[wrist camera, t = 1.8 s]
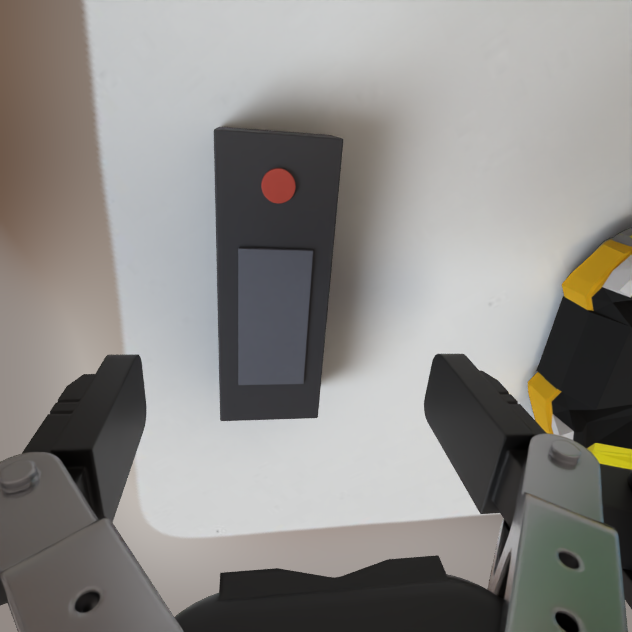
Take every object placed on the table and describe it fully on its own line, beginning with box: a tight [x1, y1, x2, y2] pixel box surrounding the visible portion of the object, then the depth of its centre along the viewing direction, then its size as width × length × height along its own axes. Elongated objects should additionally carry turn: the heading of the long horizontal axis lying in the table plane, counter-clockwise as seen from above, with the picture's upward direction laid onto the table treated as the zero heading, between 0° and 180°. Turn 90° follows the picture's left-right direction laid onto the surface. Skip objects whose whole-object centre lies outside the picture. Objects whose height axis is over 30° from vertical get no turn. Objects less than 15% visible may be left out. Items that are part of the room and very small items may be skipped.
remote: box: [214, 127, 343, 421], centre depth 18 cm, size 12×4×3 cm, turn 176°
